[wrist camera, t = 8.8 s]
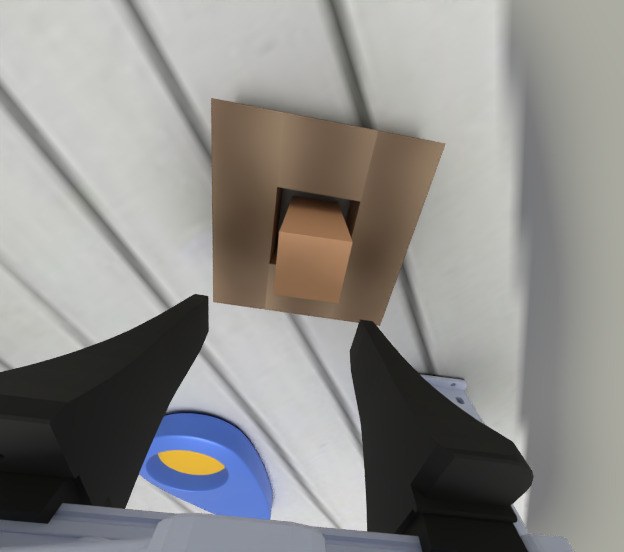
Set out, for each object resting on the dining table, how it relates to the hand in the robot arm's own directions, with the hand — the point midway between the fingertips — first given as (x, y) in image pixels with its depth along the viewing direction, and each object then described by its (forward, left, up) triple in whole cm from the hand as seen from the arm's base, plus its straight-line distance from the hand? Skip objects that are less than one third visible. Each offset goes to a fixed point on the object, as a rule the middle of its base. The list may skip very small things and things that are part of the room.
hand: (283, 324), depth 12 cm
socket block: (-1, -3, -9) cm, 10 cm away
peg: (-1, -3, -9) cm, 9 cm away
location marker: (+5, +33, -10) cm, 35 cm away
